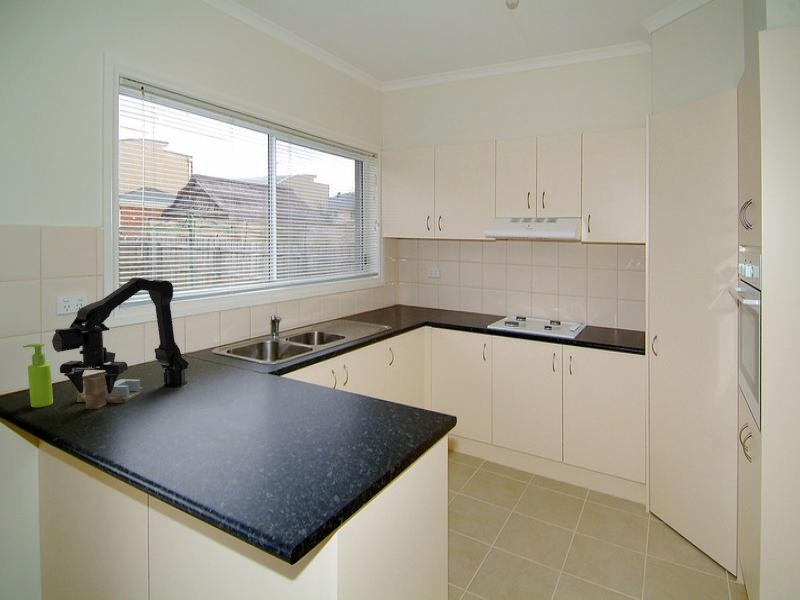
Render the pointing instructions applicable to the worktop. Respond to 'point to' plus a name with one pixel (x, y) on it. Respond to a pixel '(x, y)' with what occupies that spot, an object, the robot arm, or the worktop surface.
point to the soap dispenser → (39, 379)
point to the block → (124, 387)
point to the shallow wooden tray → (117, 399)
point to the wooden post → (95, 391)
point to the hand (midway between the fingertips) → (95, 393)
